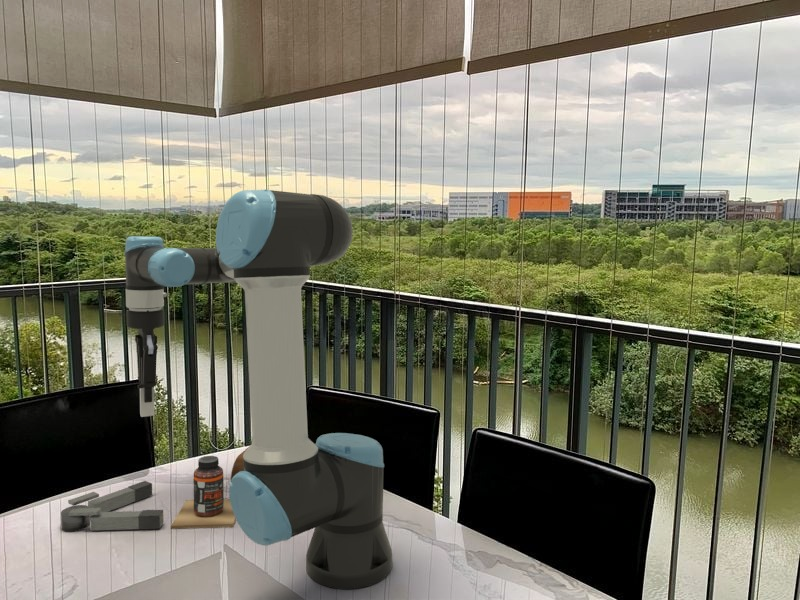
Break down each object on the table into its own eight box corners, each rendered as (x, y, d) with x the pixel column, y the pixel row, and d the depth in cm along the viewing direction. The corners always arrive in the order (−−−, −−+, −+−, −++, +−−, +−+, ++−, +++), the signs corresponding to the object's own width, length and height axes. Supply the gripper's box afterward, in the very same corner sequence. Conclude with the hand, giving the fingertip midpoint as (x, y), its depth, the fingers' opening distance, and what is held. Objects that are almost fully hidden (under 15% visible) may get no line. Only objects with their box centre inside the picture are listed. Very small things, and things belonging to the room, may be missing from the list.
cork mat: (232, 526, 120) (232, 524, 120) (170, 528, 119) (170, 525, 119) (242, 501, 132) (242, 498, 132) (186, 502, 131) (186, 500, 131)
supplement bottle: (205, 520, 122) (203, 466, 120) (188, 512, 125) (186, 459, 124) (229, 510, 126) (228, 458, 125) (212, 502, 130) (211, 451, 129)
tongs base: (159, 530, 119) (159, 511, 118) (55, 533, 117) (54, 514, 116) (167, 517, 124) (167, 499, 124) (68, 520, 122) (67, 501, 122)
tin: (254, 472, 149) (254, 439, 148) (266, 473, 148) (266, 440, 148) (229, 498, 134) (228, 461, 133) (242, 499, 134) (242, 462, 133)
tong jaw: (74, 524, 120) (74, 503, 120) (68, 520, 122) (67, 499, 121) (152, 495, 134) (151, 476, 134) (145, 492, 136) (144, 473, 135)
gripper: (169, 311, 126) (171, 421, 129) (158, 304, 137) (160, 405, 140) (130, 313, 122) (133, 426, 125) (122, 305, 133) (124, 409, 136)
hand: (147, 415), depth 132 cm, fingers closed
